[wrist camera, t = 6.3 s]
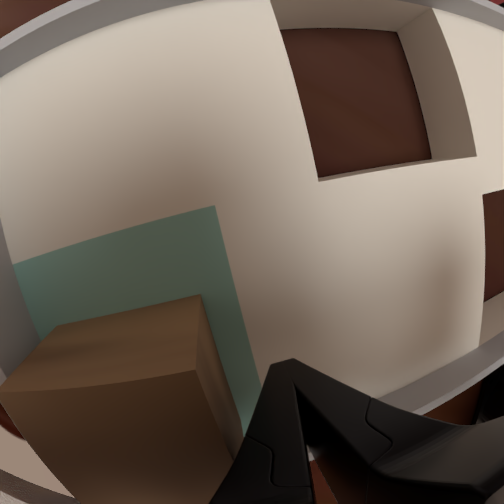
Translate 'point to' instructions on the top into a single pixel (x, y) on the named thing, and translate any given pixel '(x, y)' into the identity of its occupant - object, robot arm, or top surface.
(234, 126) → the trap deck
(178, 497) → the walnut block
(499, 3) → the puzzle cube
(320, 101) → the top surface
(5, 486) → the award
